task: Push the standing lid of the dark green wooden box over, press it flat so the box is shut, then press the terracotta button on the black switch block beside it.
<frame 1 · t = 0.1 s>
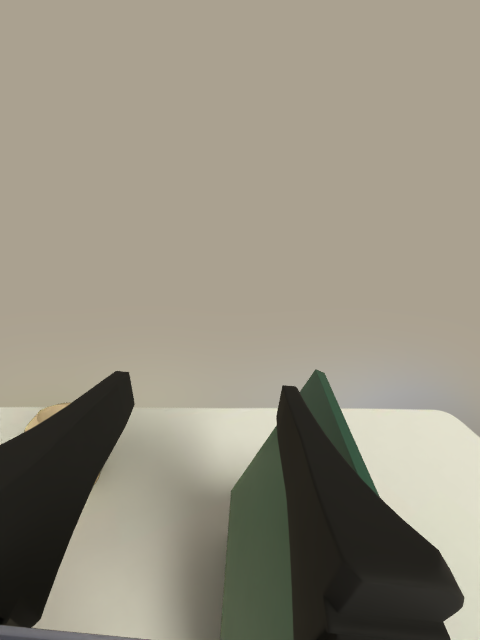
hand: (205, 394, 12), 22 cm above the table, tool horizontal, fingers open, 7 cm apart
candle: (74, 478, 29), on the table
lid: (278, 520, 15), point 14 cm above the table, hinge at 70.8°
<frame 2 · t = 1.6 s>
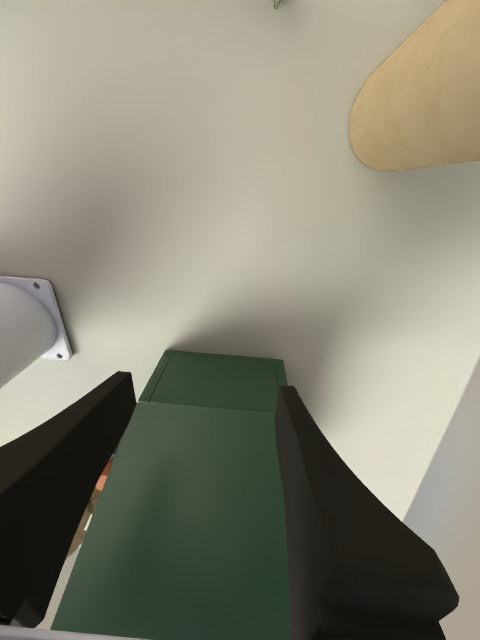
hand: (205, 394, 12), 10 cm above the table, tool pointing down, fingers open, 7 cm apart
button: (114, 477, 27), point 4 cm above the table, slide at 0.1 cm
candle: (393, 118, 15), on the table
lid: (194, 550, 13), point 14 cm above the table, hinge at 70.8°
box: (221, 406, 27), on the table
ceramic model: (64, 480, 35), on the table
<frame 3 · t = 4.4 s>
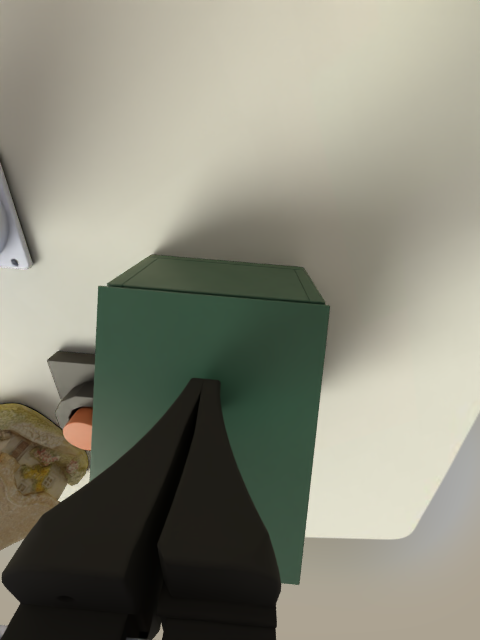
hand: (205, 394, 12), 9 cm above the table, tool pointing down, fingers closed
button: (90, 428, 22), point 4 cm above the table, slide at 0.1 cm
lid: (203, 437, 13), point 10 cm above the table, hinge at 23.9°, touching gripper
box: (223, 339, 21), on the table
ceramic model: (36, 444, 30), on the table
switch block: (111, 397, 25), on the table
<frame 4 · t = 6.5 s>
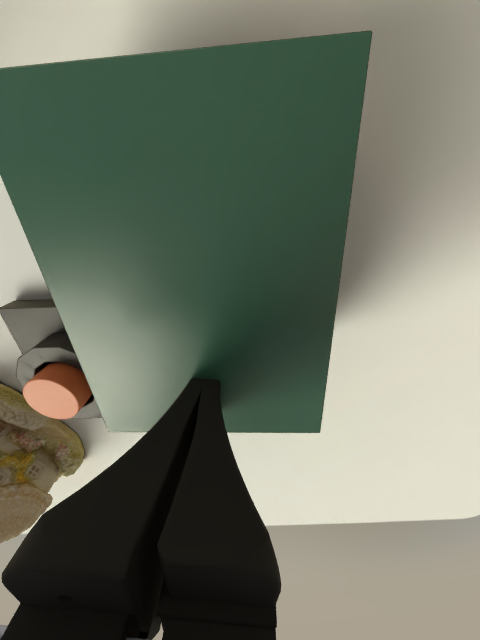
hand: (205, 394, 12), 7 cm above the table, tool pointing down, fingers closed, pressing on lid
button: (60, 390, 17), point 4 cm above the table, slide at 0.1 cm
lid: (193, 302, 10), point 7 cm above the table, hinge at 0.8°, touching gripper
ceramic model: (22, 431, 25), on the table
switch block: (91, 358, 20), on the table
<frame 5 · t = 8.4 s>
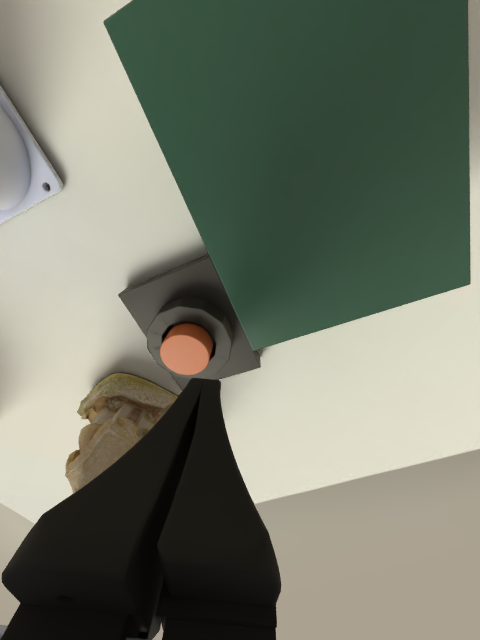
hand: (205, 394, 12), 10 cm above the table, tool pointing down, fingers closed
button: (187, 349, 19), point 4 cm above the table, slide at 0.1 cm
lid: (315, 174, 11), point 7 cm above the table, hinge at 0.8°
ceramic model: (150, 418, 28), on the table
switch block: (197, 325, 22), on the table
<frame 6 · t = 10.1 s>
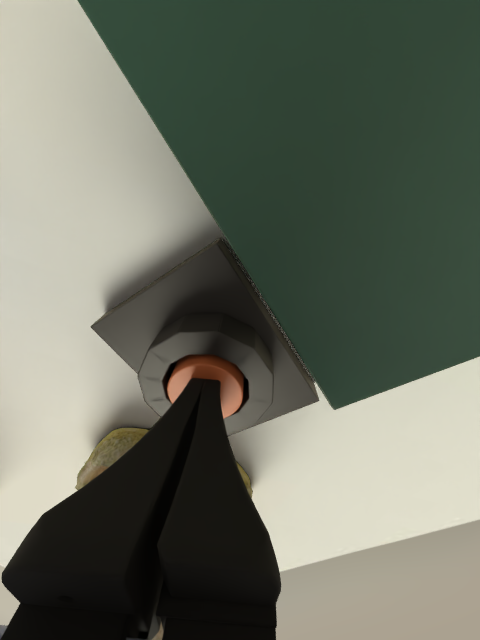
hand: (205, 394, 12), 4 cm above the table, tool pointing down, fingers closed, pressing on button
button: (207, 382, 13), point 3 cm above the table, slide at -0.9 cm, touching gripper
ceramic model: (175, 476, 21), on the table
switch block: (215, 351, 15), on the table
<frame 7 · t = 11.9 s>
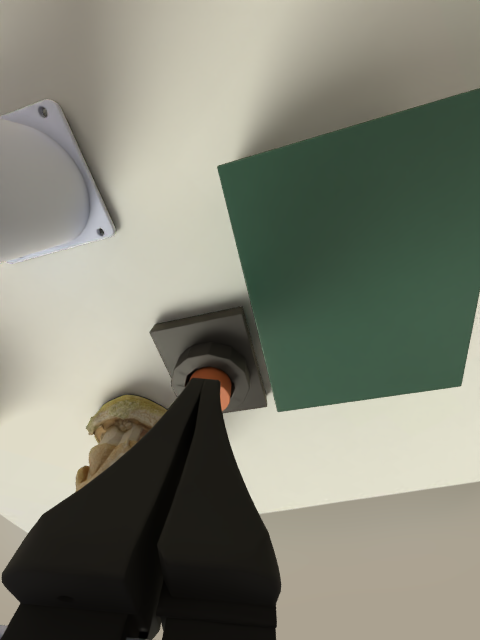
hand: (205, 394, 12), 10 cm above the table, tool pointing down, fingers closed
button: (209, 390, 21), point 4 cm above the table, slide at 0.1 cm
lid: (359, 294, 13), point 7 cm above the table, hinge at 0.8°
ceramic model: (152, 436, 30), on the table
switch block: (214, 363, 24), on the table
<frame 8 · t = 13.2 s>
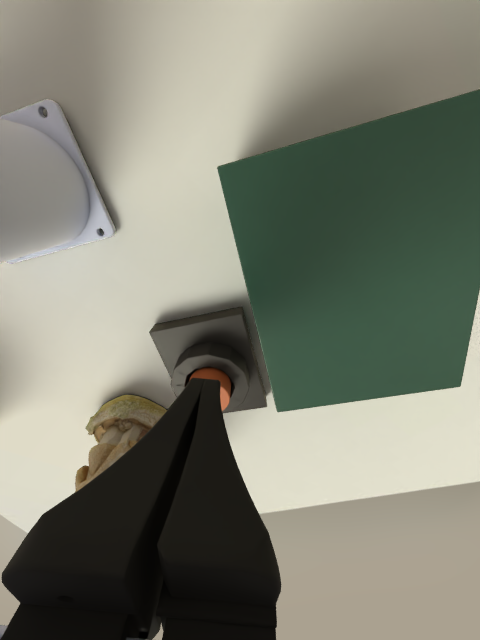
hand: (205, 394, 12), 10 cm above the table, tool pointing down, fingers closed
button: (208, 390, 21), point 4 cm above the table, slide at 0.1 cm
lid: (358, 294, 13), point 7 cm above the table, hinge at 0.8°
ceramic model: (151, 436, 30), on the table
switch block: (214, 363, 24), on the table
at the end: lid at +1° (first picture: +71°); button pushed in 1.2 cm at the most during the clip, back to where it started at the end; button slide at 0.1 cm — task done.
